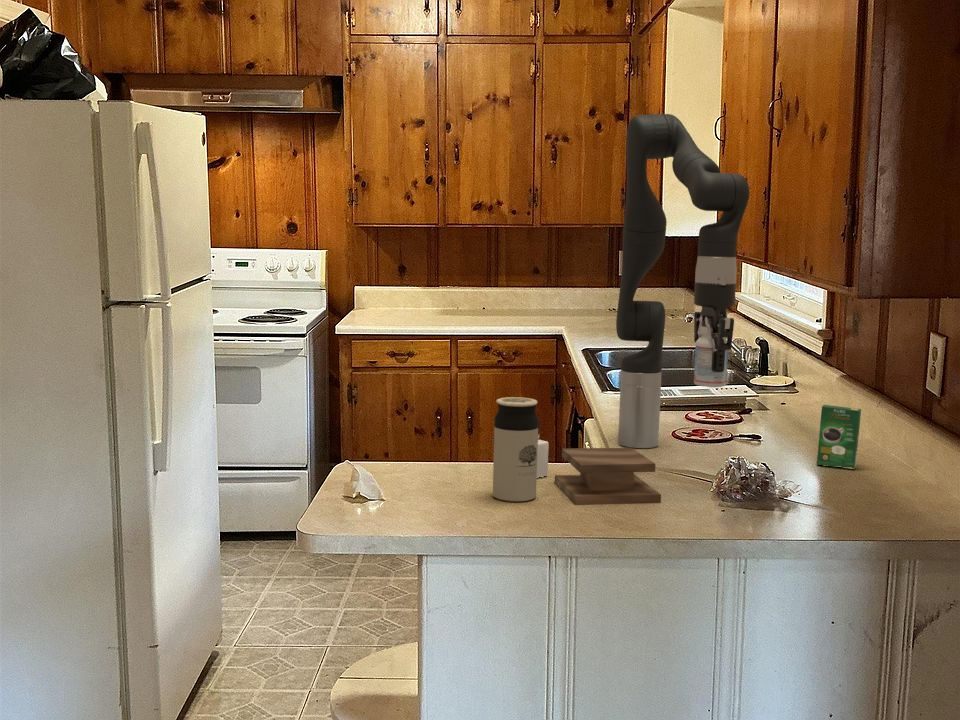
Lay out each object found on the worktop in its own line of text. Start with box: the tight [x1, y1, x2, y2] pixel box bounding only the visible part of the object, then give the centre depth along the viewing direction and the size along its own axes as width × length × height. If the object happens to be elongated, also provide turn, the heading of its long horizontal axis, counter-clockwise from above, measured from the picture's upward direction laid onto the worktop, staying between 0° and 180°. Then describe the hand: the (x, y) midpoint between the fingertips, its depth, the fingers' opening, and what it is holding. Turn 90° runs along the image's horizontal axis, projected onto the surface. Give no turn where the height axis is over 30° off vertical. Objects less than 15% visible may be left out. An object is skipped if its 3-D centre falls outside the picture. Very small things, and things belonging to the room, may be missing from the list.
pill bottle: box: [693, 326, 729, 388], centre depth 197 cm, size 6×6×11 cm
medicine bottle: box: [537, 418, 549, 479], centre depth 206 cm, size 7×7×12 cm
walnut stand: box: [554, 447, 662, 505], centre depth 195 cm, size 16×16×7 cm
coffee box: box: [816, 404, 862, 469], centre depth 221 cm, size 8×3×13 cm, turn 63°
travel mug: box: [492, 396, 539, 503], centre depth 189 cm, size 8×8×18 cm
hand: (710, 368), depth 197 cm, fingers closed on pill bottle, 6 cm apart
